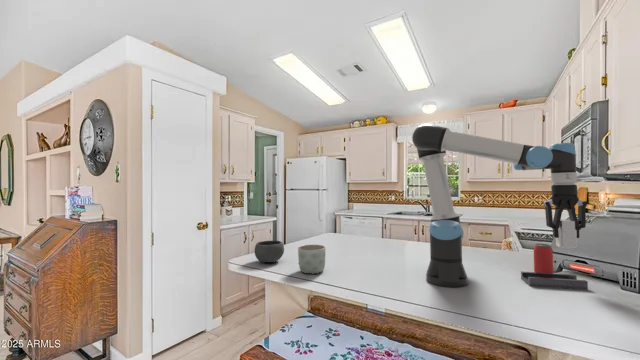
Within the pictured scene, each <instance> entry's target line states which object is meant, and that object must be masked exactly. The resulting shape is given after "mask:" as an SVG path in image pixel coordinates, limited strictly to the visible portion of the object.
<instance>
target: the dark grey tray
mask: <svg viewBox="0 0 640 360" xmlns="http://www.w3.org/2000/svg"><path fill="white" fill-rule="evenodd" d="M520 279H521V280H522V281H523V282H524V283H525V284H527V285H528V286H529V287H537V288H538V287H540V288H551V289H552V288H554V289H568V288H572V289H571V290H584V291H587V290H589V287H588V285H589V284H588V283H589V282H588V281H587V280H586V279H577V275H576V274H575V273H556V272H553V273H540V272H535V271H520Z"/></svg>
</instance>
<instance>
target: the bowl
mask: <svg viewBox="0 0 640 360" xmlns="http://www.w3.org/2000/svg"><path fill="white" fill-rule="evenodd" d="M284 253H285V245H284V243H283V242H282V241H280V240H264V241H258V242H257V243H256V244H255V246H254V255H255V258H256V260H257V261H259V262H260V263H263V262H273V263H275V262H274V261H276V262H277V261H279V260H280V259H281V258H282V257H283V255H284Z"/></svg>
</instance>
